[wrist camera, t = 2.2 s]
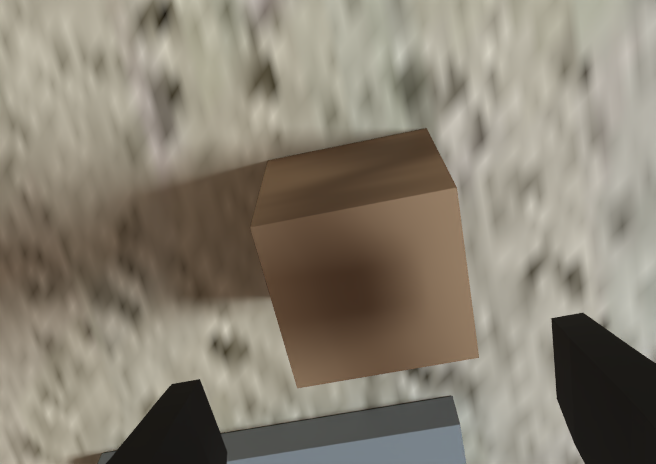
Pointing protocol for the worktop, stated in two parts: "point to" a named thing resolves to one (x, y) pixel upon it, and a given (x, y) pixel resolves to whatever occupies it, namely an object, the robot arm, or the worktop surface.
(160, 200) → the worktop surface
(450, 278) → the walnut block
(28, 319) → the worktop surface
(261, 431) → the slate base plate
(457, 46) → the worktop surface
